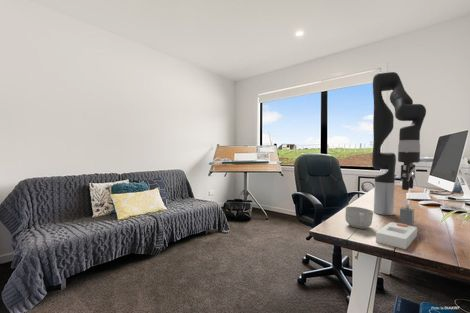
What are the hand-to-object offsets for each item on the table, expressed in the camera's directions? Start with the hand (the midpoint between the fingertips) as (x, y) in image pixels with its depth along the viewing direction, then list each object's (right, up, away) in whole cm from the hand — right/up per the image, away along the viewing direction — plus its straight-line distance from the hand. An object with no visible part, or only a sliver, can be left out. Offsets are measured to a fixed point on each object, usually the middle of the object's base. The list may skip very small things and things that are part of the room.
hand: (407, 189), depth 101 cm
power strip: (-12, -18, -11) cm, 24 cm away
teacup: (-20, -17, +2) cm, 27 cm away
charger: (0, -18, 0) cm, 18 cm away
